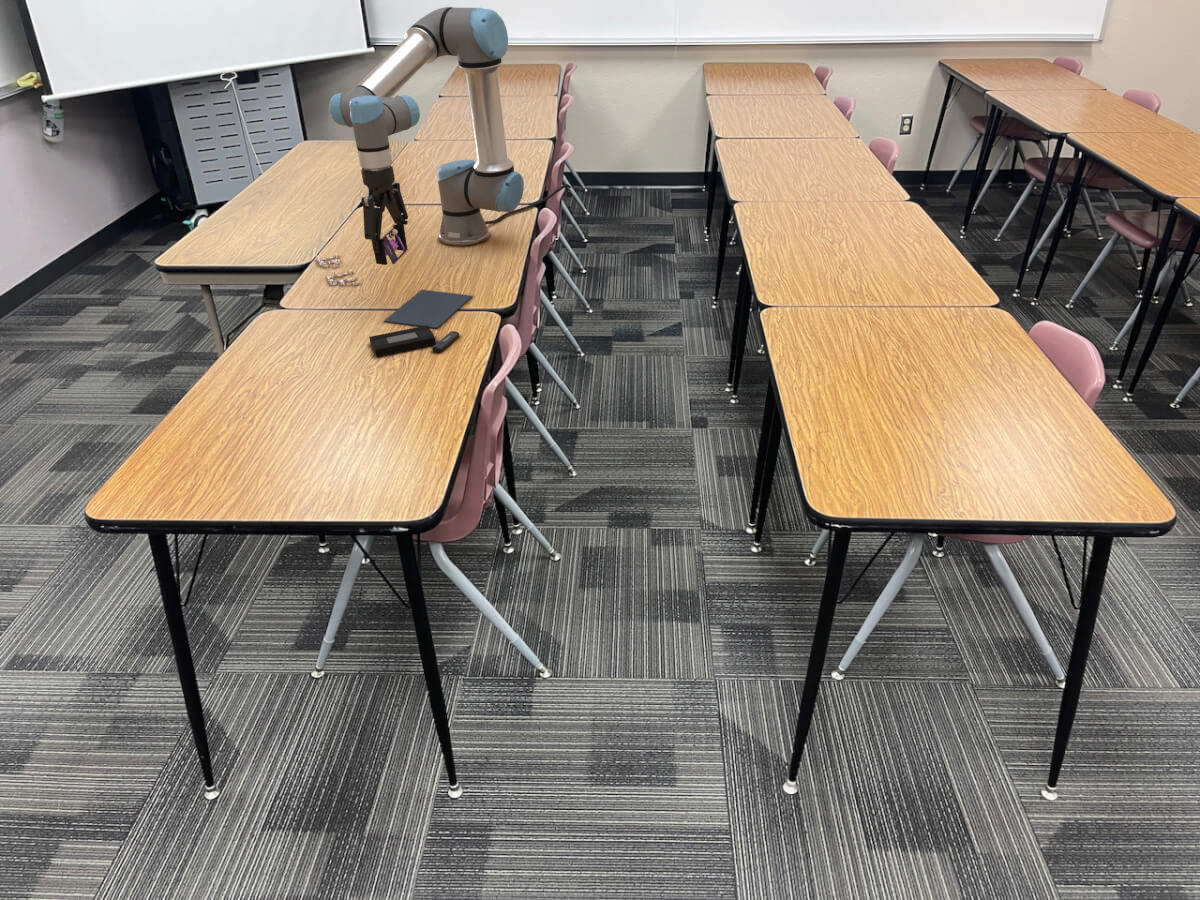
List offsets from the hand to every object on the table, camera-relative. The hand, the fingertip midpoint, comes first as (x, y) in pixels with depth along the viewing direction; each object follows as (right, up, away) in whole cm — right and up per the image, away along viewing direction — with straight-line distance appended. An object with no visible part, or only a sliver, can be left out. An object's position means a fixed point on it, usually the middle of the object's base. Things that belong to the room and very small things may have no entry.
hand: (392, 256), depth 207 cm
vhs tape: (+6, -24, -11) cm, 27 cm away
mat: (+8, -12, +5) cm, 16 cm away
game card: (0, -1, 0) cm, 0 cm away
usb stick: (+16, -24, -11) cm, 31 cm away
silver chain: (-23, +2, +28) cm, 36 cm away
